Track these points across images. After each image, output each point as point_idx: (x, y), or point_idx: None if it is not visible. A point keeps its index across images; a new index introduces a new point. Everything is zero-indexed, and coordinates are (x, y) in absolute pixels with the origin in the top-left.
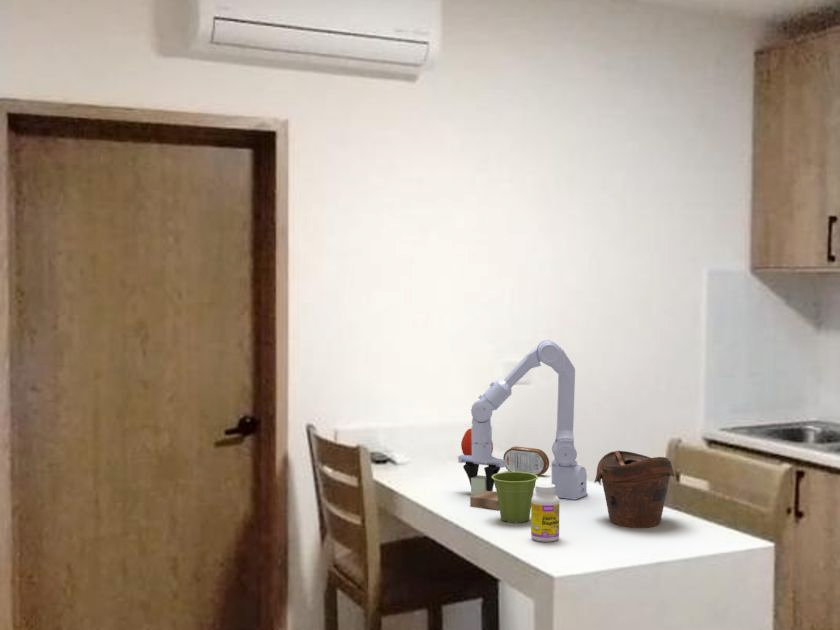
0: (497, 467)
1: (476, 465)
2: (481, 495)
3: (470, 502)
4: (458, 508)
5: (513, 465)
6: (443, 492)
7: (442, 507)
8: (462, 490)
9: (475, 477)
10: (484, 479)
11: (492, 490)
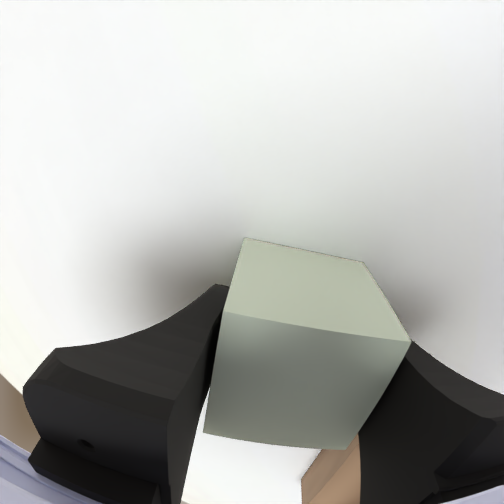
0: (492, 478)
1: (174, 453)
2: (346, 492)
3: (302, 491)
4: (268, 497)
5: None
6: (51, 305)
7: (210, 496)
8: (103, 214)
9: (233, 413)
10: (342, 444)
11: (369, 278)
